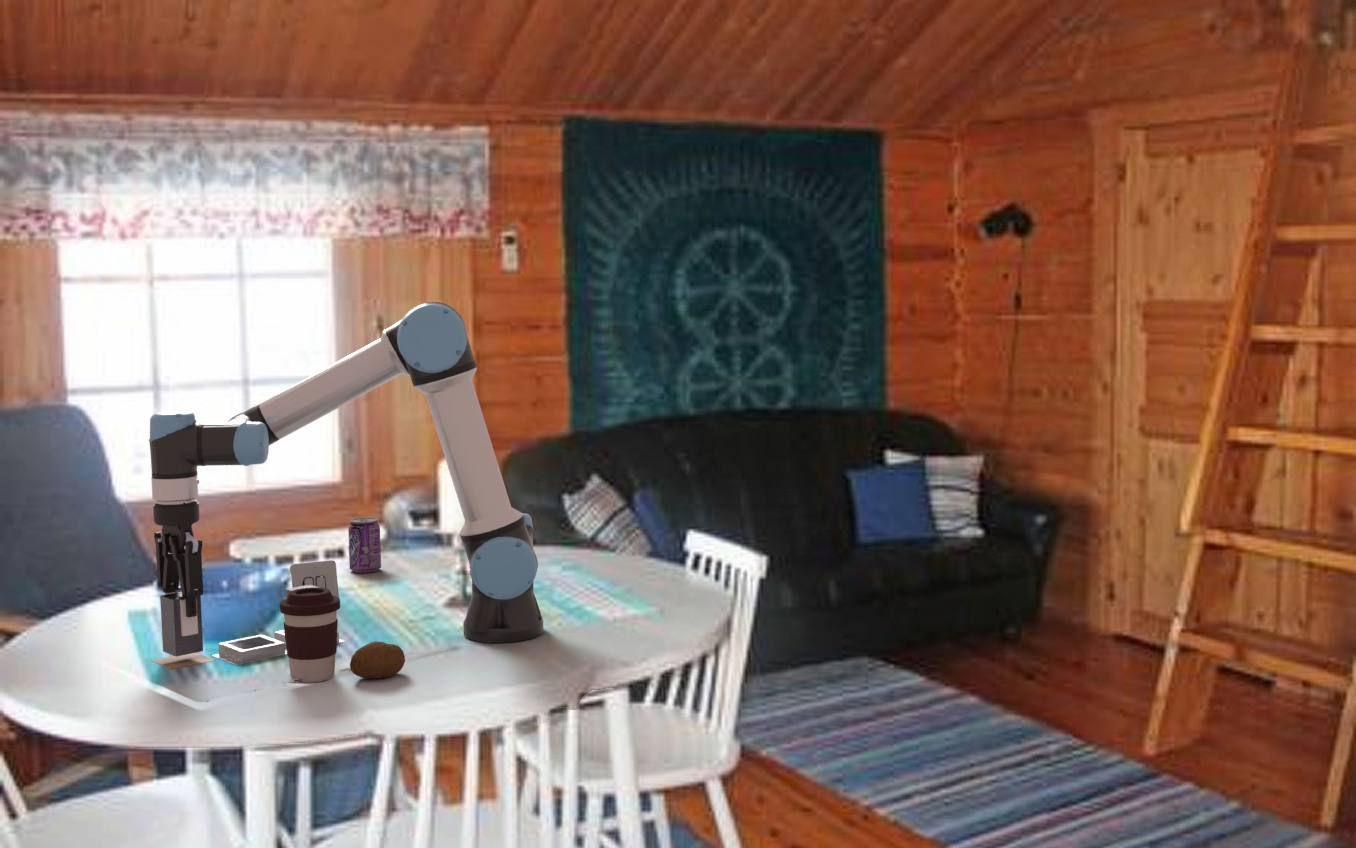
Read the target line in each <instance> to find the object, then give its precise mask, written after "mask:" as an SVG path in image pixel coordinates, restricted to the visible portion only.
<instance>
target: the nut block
mask: <svg viewBox="0 0 1356 848" xmlns="http://www.w3.org/2000/svg"><path fill="white" fill-rule="evenodd" d="M177 592H178V591H177ZM178 597H182V592H181V591H180V592H178V593H172V594H166V595H165V594H161V595H159V598H160V601H159V602H160V616H161V617H160V618H161V619H160V620H161V636H162V637H161V640H162V652H164V653H166V654H169V655H171V656H176V657H177V656H182V655H187V654H191V653H200V652H204V642H203V641H204V640H203V621H202V618H203V617H202V599H201V598H202V595H200V596H198V597H197V619H198V634H193V635H188V636H181V615H180V600H179V599H178Z"/></svg>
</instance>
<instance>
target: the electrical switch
mask: <svg viewBox="0 0 1356 848" xmlns="http://www.w3.org/2000/svg"><path fill="white" fill-rule="evenodd" d="M289 572H290V573H289V574H290V575H291V577H290V578H291V588H294V587H300V586H305V585H313V586H316V587H320V588H326V589H329V590H330V591H331V593H332V595H333V596H336V597H338V598H340V593H339V583H338V574H337V573H338V572H337V564H336V561H335V560H332V559H331V560H323V561H322V560H321V561H311V562H300V563H292V564H291V565H290V566H289Z"/></svg>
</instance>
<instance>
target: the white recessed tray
mask: <svg viewBox="0 0 1356 848" xmlns="http://www.w3.org/2000/svg"><path fill="white" fill-rule="evenodd" d="M273 634H274V638H272V637H270V636H267V635H265V634H257V635H252V636H247V637H242V638H238V639H233V640H228V641H222V642H218V653H216V654H212V655H211V657H214V658H217V659H219V660H221V661H224V662H227V663H229V664H232V665H234V666H239V665H242V664H243V665H244V664H248V663H251V662H252V663H253V662H257V661H262V660H267V659H272V658H276V657H279V656H280V657H281V656H285V655H287V651H286V641H285V632H284V629H282V630H278V631H274V633H273ZM345 642H346V640H345V639H341V638H340V631H339V630H337V644H341V643H345Z"/></svg>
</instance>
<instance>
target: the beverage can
mask: <svg viewBox="0 0 1356 848" xmlns="http://www.w3.org/2000/svg"><path fill="white" fill-rule="evenodd" d="M347 531H348V555H349V556H348V558H349V559H348V561H349V569H350V570H351V571H352V572H354V573H357V574H370V573H374V572H377V571H378V570H379V569H381V568H382V555H381V554H382V553H381V550H382V549H381V526H380V524H379V522H378V518H376V517H365V516H364V517H355V518H352V519H350V524H349V526H348V530H347Z"/></svg>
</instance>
